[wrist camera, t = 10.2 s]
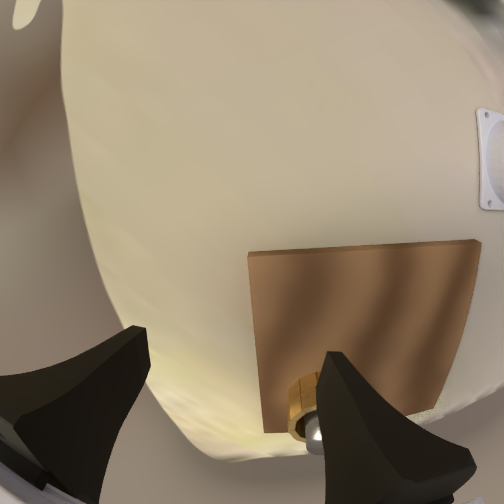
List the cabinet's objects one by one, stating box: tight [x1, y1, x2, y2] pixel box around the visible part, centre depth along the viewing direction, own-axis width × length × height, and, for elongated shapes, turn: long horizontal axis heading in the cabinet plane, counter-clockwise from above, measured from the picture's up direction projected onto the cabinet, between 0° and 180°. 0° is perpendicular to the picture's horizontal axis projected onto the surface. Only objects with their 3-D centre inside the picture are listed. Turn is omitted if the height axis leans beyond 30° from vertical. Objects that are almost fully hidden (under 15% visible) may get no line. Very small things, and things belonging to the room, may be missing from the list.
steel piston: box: [304, 410, 324, 455], centre depth 19 cm, size 3×3×6 cm
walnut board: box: [247, 239, 481, 433], centre depth 20 cm, size 18×18×1 cm
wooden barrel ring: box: [287, 372, 320, 443], centre depth 20 cm, size 5×5×4 cm
